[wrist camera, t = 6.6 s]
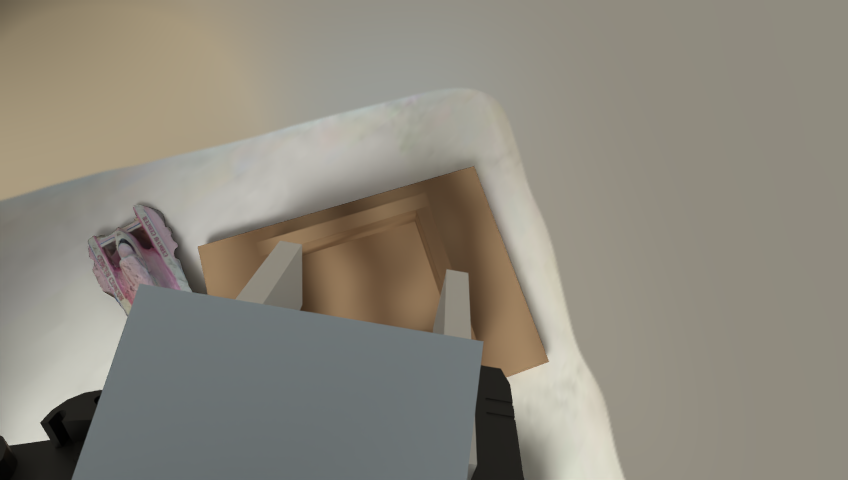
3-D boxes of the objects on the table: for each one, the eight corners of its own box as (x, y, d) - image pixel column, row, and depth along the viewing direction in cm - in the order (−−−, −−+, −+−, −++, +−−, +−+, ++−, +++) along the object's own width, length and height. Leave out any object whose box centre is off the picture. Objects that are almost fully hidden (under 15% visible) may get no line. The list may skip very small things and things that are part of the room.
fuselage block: (407, 459, 16) (429, 790, 4) (287, 440, 16) (-15, 726, 4) (426, 337, 17) (483, 341, 6) (315, 318, 17) (139, 283, 6)
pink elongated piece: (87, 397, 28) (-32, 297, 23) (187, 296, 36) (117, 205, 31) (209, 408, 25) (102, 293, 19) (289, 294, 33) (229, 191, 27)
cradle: (250, 467, 26) (224, 490, 23) (204, 249, 30) (174, 237, 26) (544, 360, 29) (565, 365, 25) (471, 171, 32) (481, 149, 28)
